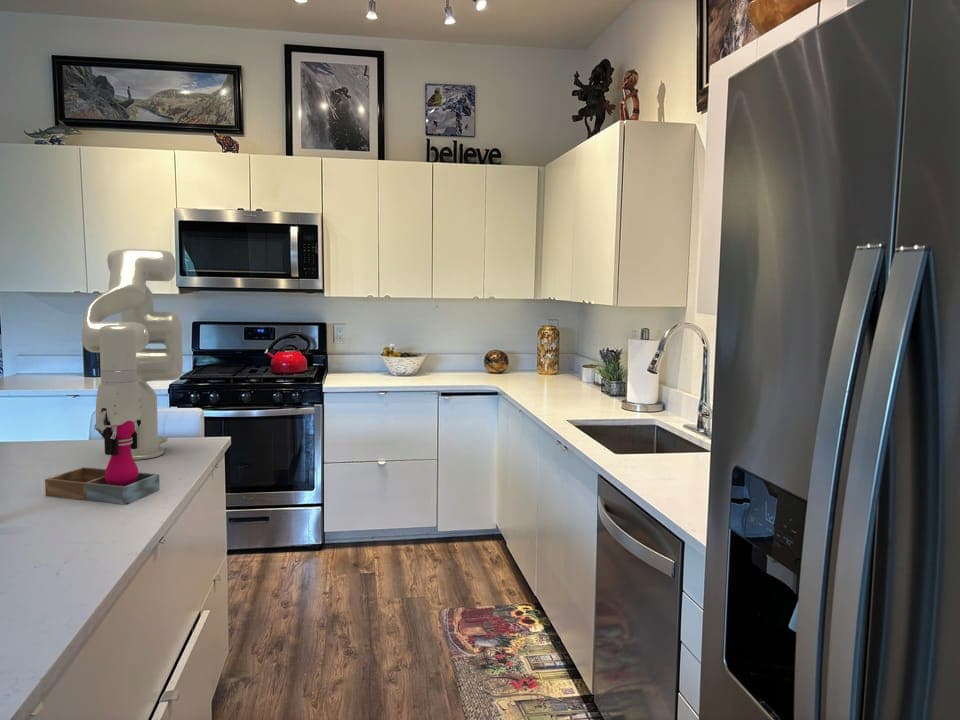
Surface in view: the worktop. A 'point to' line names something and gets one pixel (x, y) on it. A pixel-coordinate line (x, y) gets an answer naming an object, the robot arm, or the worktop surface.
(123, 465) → the pepper mill
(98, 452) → the worktop surface
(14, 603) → the worktop surface
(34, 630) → the worktop surface
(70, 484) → the organizer
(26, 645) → the worktop surface
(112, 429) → the robot arm
